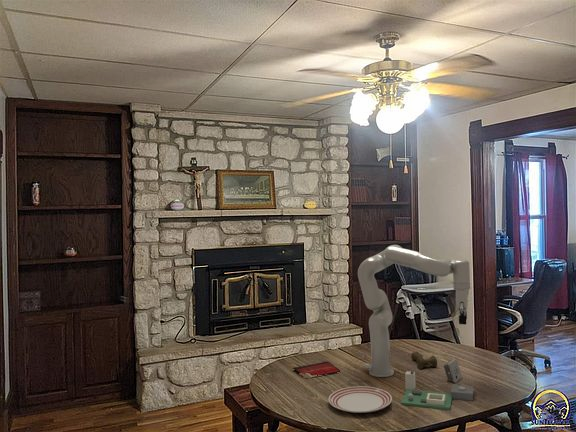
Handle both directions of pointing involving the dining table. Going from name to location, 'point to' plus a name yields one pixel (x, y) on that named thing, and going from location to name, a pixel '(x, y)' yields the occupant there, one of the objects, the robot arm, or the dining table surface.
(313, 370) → the binder
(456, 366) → the electrical switch
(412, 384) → the plug
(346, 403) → the dinner plate
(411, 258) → the robot arm
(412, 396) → the board
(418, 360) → the brown bone-shaped piece
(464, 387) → the grey knob block
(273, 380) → the dining table surface
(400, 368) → the dining table surface
